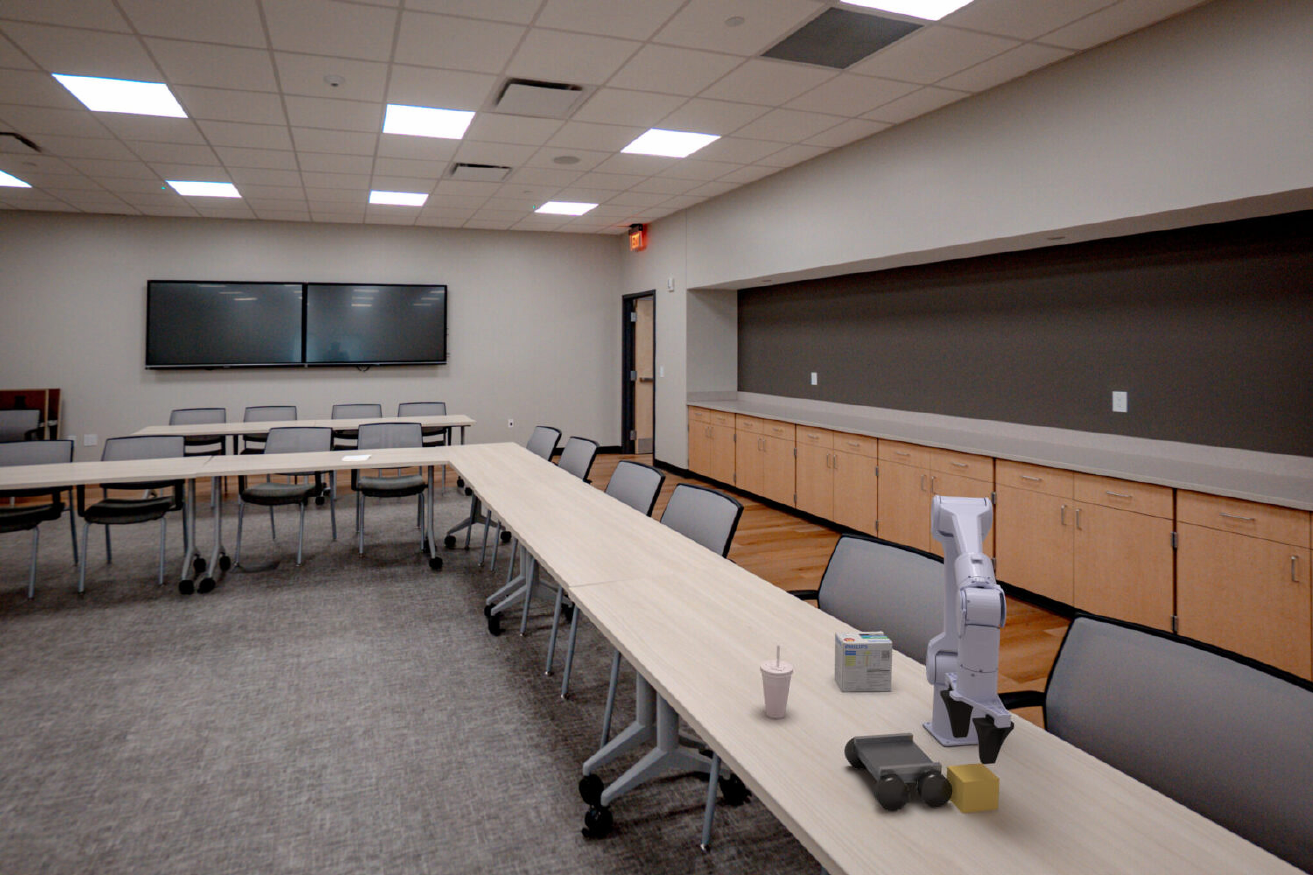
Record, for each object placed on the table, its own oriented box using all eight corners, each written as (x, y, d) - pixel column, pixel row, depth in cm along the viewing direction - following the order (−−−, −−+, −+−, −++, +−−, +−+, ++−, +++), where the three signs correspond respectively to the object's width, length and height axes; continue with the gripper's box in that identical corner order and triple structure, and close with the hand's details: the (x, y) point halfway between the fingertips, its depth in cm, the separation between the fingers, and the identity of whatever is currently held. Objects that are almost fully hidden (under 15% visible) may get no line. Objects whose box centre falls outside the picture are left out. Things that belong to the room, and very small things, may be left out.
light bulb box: (881, 678, 158) (883, 630, 157) (892, 692, 151) (894, 642, 150) (832, 678, 158) (833, 630, 157) (841, 692, 151) (842, 642, 150)
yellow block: (980, 792, 116) (981, 762, 115) (998, 809, 111) (999, 778, 111) (945, 796, 115) (947, 766, 114) (962, 813, 110) (963, 782, 110)
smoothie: (767, 723, 138) (768, 652, 136) (753, 708, 144) (755, 639, 142) (798, 719, 139) (799, 648, 138) (783, 704, 146) (784, 636, 144)
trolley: (910, 760, 125) (911, 727, 124) (951, 806, 112) (953, 769, 111) (843, 765, 123) (844, 732, 123) (877, 812, 110) (879, 775, 110)
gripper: (929, 647, 118) (925, 727, 119) (980, 687, 104) (976, 777, 105) (969, 645, 119) (965, 724, 120) (1026, 684, 105) (1021, 773, 106)
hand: (973, 749), depth 113 cm, fingers open, 7 cm apart
